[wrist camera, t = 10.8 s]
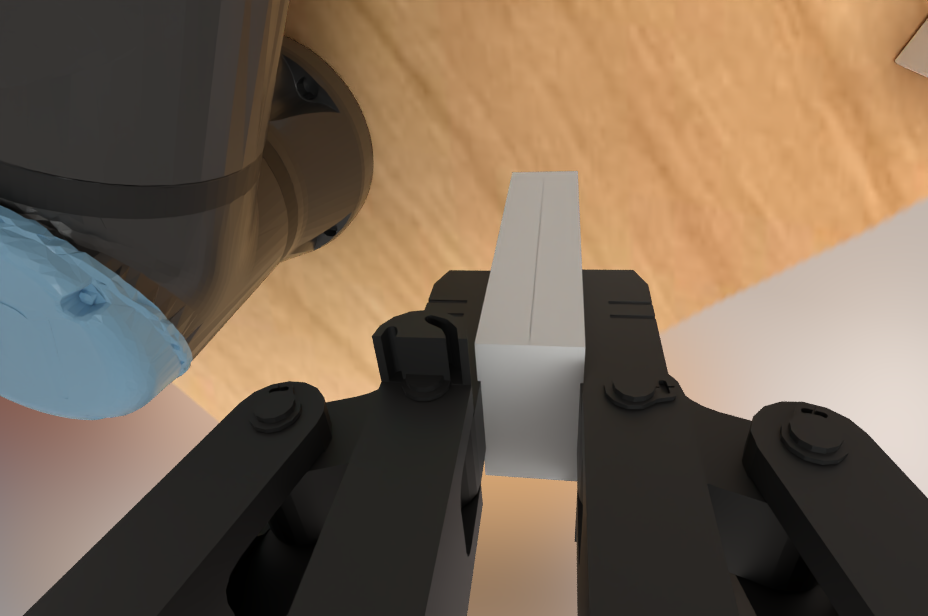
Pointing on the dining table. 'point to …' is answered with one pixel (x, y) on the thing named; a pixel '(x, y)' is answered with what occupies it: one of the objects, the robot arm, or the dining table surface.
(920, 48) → the milk carton
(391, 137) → the dining table surface
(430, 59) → the dining table surface
